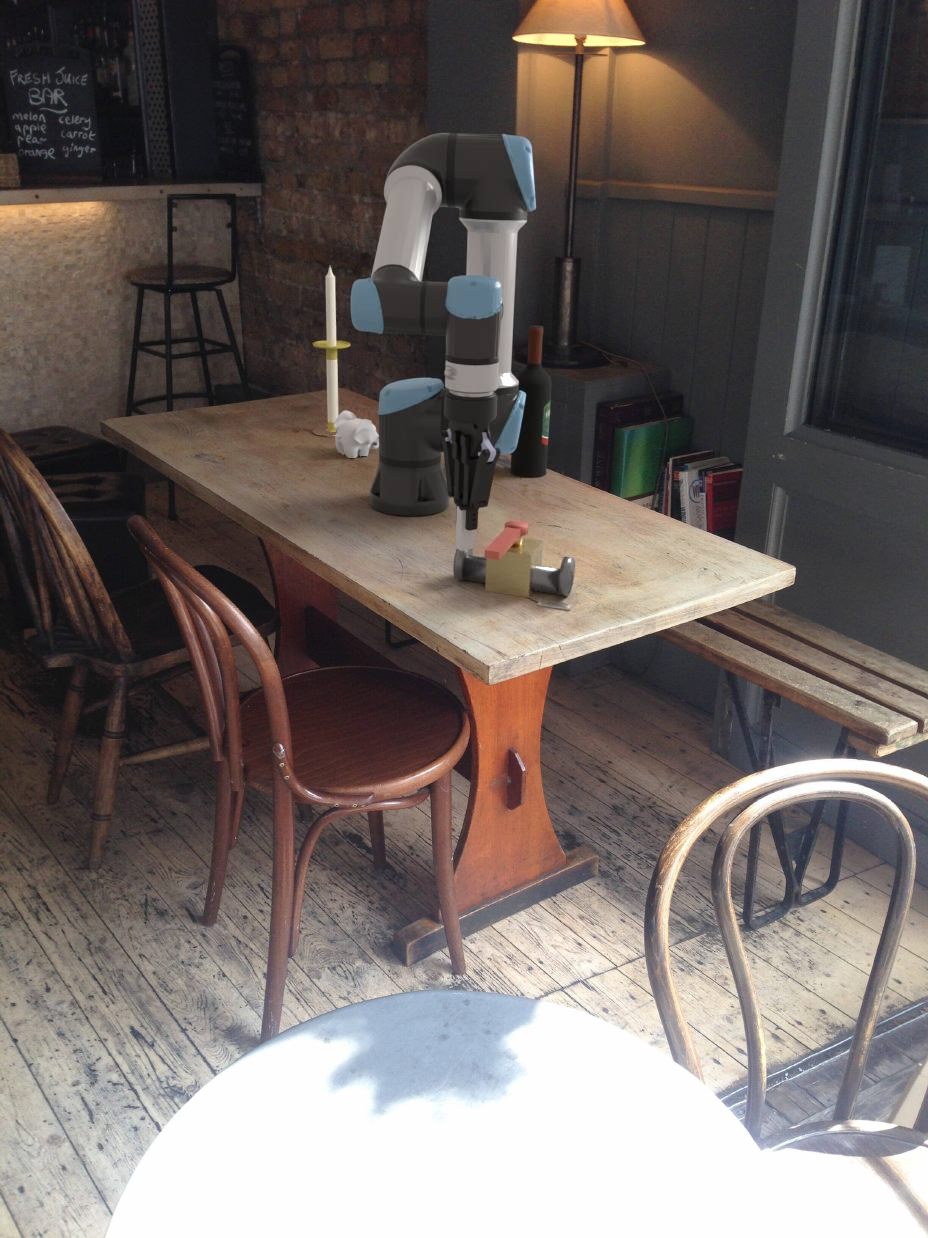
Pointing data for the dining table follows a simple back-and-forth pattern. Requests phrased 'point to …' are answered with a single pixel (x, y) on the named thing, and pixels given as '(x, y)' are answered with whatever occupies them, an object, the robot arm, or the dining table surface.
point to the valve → (518, 572)
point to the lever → (506, 539)
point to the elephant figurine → (354, 435)
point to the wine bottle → (533, 413)
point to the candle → (331, 351)
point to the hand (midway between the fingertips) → (465, 547)
